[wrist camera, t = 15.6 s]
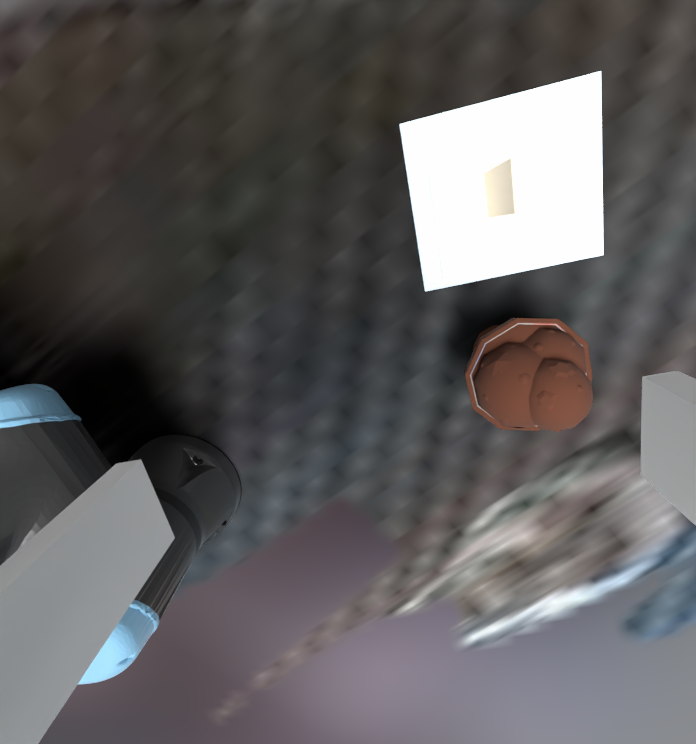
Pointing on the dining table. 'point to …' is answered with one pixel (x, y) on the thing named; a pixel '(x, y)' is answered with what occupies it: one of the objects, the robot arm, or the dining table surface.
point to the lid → (508, 184)
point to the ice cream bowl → (530, 375)
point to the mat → (413, 129)
